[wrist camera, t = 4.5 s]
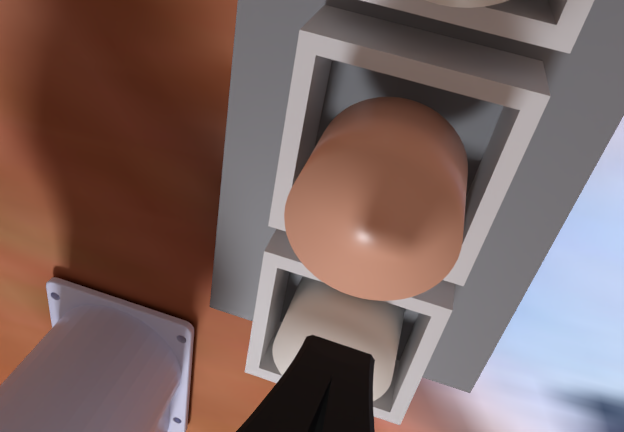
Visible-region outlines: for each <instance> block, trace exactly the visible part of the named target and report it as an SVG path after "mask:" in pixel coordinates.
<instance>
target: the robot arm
mask: <svg viewBox="0 0 624 432" xmlns="http://www.w3.org/2000/svg"><path fill="white" fill-rule="evenodd" d="M46 289H47V296H48V302H49V309H50V316H51V323H52V329H51V330H50V331H49V332H48V333H47V334H46V335H45V337H44V338H43V339H42V340H41V341H40V342H39V343H38V344H37V345H36V346H35V348H34V349H33V350H32V351H31V352H30V353H29V354H28V355H27V356H26V358H25V359H24V360H23V361H22V362H21V363H20V364H19V365H18V366H17V368H16V369H15V370H14V371H13V372H12V373H11V374H10V375H9V376H8V377H7V379H6V380H5V381H4V382H3V383H2V384H1V385H0V432H186V430H187V425H188V411H189V397H190V383H191V369H192V355H193V341H194V327H193V326H192V324H190V323H189V322H187V321H185V320H182V319H179V318H176V317H173V316H170V315H167V314H164V313H161V312H158V311H155V310H152V309H149V308H147V307H144V306H141V305H138V304H135V303H132V302H129V301H126V300H123V299H120V298H117V297H114V296H111V295H108V294H105V293H102V292H99V291H96V290H93V289H90V288H87V287H84V286H81V285H78V284H75V283H72V282H69V281H66V280H63V279H60V278H56V277H53V278H51V279H50V280H49V281H48V282H47V283H46ZM374 363H375V359H374V358H373V356H372V355H371V354H368V353H365V352H362V351H360V350H357V349H354V348H351V347H348V346H345V345H342V344H339V343H336V342H333V341H330V340H327V339H324V338H321V337H318V336H315V335H310V336H307V337H306V338H305V340H304V342H303V344H302V346H301V348H300V350H299V351H298V353H297V355H296V356H295V358H294V360H293V361H292V363H291V364H290V366H289V367H288V368H287V370H286V371H285V373H284V374H283V375H282V377H281V378H280V380H279V381H278V382H277V384H276V385H275V386H274V388H273V389H272V390H271V391H270V392H269V394H268V395H267V396H266V397H265V399H264V400H263V401H262V402H261V404H260V405H259V406H258V407H257V408H256V410H255V411H254V412H253V413H252V415H251V416H250V417H249V418H248V419H247V420H246V421H245V422H244V424H243V425H242V426H241V427H240V428H239V429H238V430H237V431H236V432H375V431H374V414H373V374H374Z"/></svg>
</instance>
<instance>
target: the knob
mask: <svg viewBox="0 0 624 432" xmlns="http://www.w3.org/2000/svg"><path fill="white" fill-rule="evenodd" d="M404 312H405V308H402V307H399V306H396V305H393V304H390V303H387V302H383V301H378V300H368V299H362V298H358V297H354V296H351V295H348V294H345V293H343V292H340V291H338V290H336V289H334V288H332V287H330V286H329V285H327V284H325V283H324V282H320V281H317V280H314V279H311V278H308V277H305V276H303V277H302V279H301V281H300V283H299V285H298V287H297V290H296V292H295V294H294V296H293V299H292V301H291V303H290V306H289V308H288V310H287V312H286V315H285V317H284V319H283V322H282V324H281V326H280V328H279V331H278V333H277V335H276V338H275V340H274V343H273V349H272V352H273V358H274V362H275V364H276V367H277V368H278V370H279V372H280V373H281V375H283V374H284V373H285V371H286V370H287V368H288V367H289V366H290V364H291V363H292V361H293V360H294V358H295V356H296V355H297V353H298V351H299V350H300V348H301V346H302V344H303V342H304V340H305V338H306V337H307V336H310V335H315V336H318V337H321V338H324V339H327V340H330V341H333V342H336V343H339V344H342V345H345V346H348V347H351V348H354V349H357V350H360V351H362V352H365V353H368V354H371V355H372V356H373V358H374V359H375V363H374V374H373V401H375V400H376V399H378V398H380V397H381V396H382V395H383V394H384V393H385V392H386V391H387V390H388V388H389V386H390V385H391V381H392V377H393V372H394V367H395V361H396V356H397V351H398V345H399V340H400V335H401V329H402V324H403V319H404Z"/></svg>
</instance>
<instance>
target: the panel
mask: <svg viewBox="0 0 624 432" xmlns="http://www.w3.org/2000/svg"><path fill="white" fill-rule="evenodd" d="M377 97H399V98H405V99H409V100H413V101H416V102H419V103H421V104H423V105H425V106H427V107H430V108H431V109H433V110H434V111H436V112H437V113H439V114H440V115H441V116H442V117H444V118H445V119H446V120H447V121H448V122H449V123H450V124H451V125H452V127H453V128H454V129H455V131H456V132H457V134H458V135H459V137H460V139H461V141H462V143H463V145H464V148H465V151H466V154H467V161H468V178H467V191H466V204H465V217H464V230H463V241H462V247H461V251H460V254H459V257H458V260H457V262H456V263H455V265H454V267H453V269H452V270H451V271H450V272H449V274H448V275H447V276H446V277H445V278H444V279H443V280H442V281H441V282H440V283H438V284H437V285H436V286H434V287H433V288H431V289H429V290H427V291H426V292H424V293H421V294H419V295H416V296H413V297H409V298H406V299H400V300H391V301H383V302H387V303H390V304H393V305H396V306H399V307H402V308H405V312H404V319H403V324H402V329H401V335H400V340H399V345H398V351H397V356H396V361H395V367H394V372H393V377H392V381H391V385H390V386H389V388H388V390H387V391H386V392H385V393H384V394H383V395H382V396H381V397H380V398H378V399H376V400H375V401H373V414H374V417H377V418H380V419H383V420H386V421H389V422H392V423H395V424H398V425H400V424H401V422H402V420H403V418H404V415H405V413H406V411H407V409H408V407H409V404H410V402H411V400H412V398H413V396H414V393H415V391H416V389H417V387H418V385H419V383H420V380H421V378H422V377H423V378H426V379H429V380H432V381H435V382H438V383H441V384H444V385H447V386H450V387H453V388H456V389H459V390H462V391H465V392H468V393H470V392H471V390H472V389H473V387H474V385H475V383H476V381H477V380H478V378H479V376H480V374H481V372H482V371H483V369H484V367H485V365H486V363H487V362H488V360H489V358H490V356H491V354H492V353H493V351H494V349H495V347H496V345H497V343H498V342H499V340H500V338H501V336H502V334H503V333H504V331H505V329H506V327H507V325H508V324H509V322H510V320H511V318H512V316H513V315H514V313H515V311H516V309H517V307H518V305H519V304H520V302H521V300H522V298H523V296H524V295H525V293H526V291H527V289H528V287H529V286H530V284H531V282H532V280H533V278H534V277H535V275H536V273H537V271H538V269H539V267H540V266H541V264H542V262H543V260H544V258H545V257H546V255H547V253H548V251H549V249H550V248H551V246H552V244H553V242H554V240H555V239H556V237H557V235H558V233H559V231H560V230H561V228H562V226H563V224H564V222H565V220H566V219H567V217H568V215H569V213H570V211H571V210H572V208H573V206H574V204H575V202H576V201H577V199H578V197H579V195H580V193H581V192H582V190H583V188H584V186H585V184H586V182H587V181H588V179H589V177H590V175H591V173H592V172H593V170H594V168H595V166H596V164H597V163H598V161H599V159H600V157H601V155H602V154H603V152H604V150H605V148H606V146H607V145H608V143H609V141H610V139H611V137H612V135H613V134H614V132H615V130H616V128H617V126H618V125H619V123H620V121H621V119H622V117H623V116H624V0H509V1H506V2H503V3H499V4H495V5H490V6H485V7H474V8H459V7H449V6H444V5H438V4H435V3H432V2H429V1H426V0H238V5H237V16H236V27H235V38H234V48H233V59H232V70H231V81H230V92H229V103H228V114H227V125H226V136H225V146H224V157H223V168H222V179H221V190H220V201H219V212H218V223H217V233H216V244H215V255H214V266H213V277H212V288H211V299H210V307H211V308H214V309H217V310H220V311H223V312H226V313H229V314H232V315H235V316H238V317H241V318H244V319H247V320H250V321H253V324H252V330H251V336H250V343H249V349H248V355H247V361H246V368H245V372H246V373H249V374H252V375H255V376H257V377H260V378H263V379H266V380H269V381H272V382H275V383H277V382H278V381H279V380H280V378H281V377H282V375H281V373H280V372H279V370H278V368H277V367H276V364H275V362H274V358H273V352H272V349H273V343H274V340H275V338H276V335H277V333H278V331H279V328H280V326H281V324H282V322H283V319H284V317H285V315H286V312H287V310H288V308H289V306H290V303H291V301H292V299H293V296H294V294H295V292H296V290H297V287H298V285H299V283H300V281H301V279H302V277H303V276H305V277H308V278H311V279H314V280H317V281H320V282H322V281H321V280H319V279H318V278H317V277H316V276H314V275H313V274H312V273H311V272H310V271H309V270H308V269H307V268H306V267H305V266H304V265H303V264H302V262H301V261H300V260H299V259H298V257H297V256H296V254H295V253H294V251H293V249H292V247H291V245H290V243H289V240H288V237H287V234H286V229H285V222H284V212H285V205H286V201H287V197H288V195H289V192H290V190H291V188H292V186H293V184H294V183H295V181H296V179H297V178H298V176H299V174H300V172H301V171H302V169H303V167H304V166H305V164H306V162H307V160H308V159H309V157H310V155H311V153H312V152H313V150H314V148H315V147H316V145H317V143H318V141H319V140H320V138H321V136H322V134H323V133H324V131H325V129H326V128H327V126H328V125H329V123H330V122H331V121H332V120H333V119H334V118H335V117H336V116H337V115H338V114H339V113H340V112H342V111H343V110H345V109H346V108H348V107H349V106H351V105H353V104H356V103H358V102H360V101H364V100H367V99H371V98H377Z"/></svg>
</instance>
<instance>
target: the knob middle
mask: <svg viewBox="0 0 624 432" xmlns="http://www.w3.org/2000/svg"><path fill="white" fill-rule="evenodd" d="M467 178H468V161H467V154H466V151H465V148H464V145H463V143H462V141H461V139H460V137H459V135H458V134H457V132H456V131H455V129H454V128H453V127H452V125H451V124H450V123H449V122H448V121H447V120H446V119H445V118H444V117H442V116H441V115H440V114H439V113H437V112H436V111H434V110H433V109H431V108H430V107H427V106H425V105H423V104H421V103H419V102H416V101H413V100H409V99H405V98H399V97H377V98H371V99H367V100H364V101H360V102H358V103H356V104H353V105H351V106H349V107H348V108H346V109H345V110H343V111H342V112H340V113H339V114H338V115H337V116H336V117H335V118H334V119H333V120H332V121H331V122H330V123H329V125H328V126H327V128H326V129H325V131H324V133H323V134H322V136H321V138H320V140H319V141H318V143H317V145H316V147H315V148H314V150H313V152H312V153H311V155H310V157H309V159H308V160H307V162H306V164H305V166H304V167H303V169H302V171H301V172H300V174H299V176H298V178H297V179H296V181H295V183H294V184H293V186H292V188H291V190H290V192H289V195H288V197H287V201H286V205H285V212H284V222H285V229H286V234H287V237H288V240H289V243H290V245H291V247H292V249H293V251H294V253H295V254H296V256H297V257H298V259H299V260H300V261H301V262H302V264H303V265H304V266H305V267H306V268H307V269H308V270H309V271H310V272H311V273H312V274H313V275H314V276H316V277H317V278H318V279H319V280H321V281H322V282H324V283H325V284H327V285H329V286H330V287H332V288H334V289H336V290H338V291H340V292H343V293H345V294H348V295H351V296H354V297H358V298H362V299H368V300H378V301H391V300H400V299H406V298H409V297H413V296H416V295H419V294H421V293H424V292H426V291H427V290H429V289H431V288H433V287H434V286H436V285H437V284H438V283H440V282H441V281H442V280H443V279H444V278H445V277H446V276H447V275H448V274H449V272H450V271H451V270H452V269H453V267H454V265H455V263H456V262H457V260H458V257H459V254H460V251H461V247H462V241H463V230H464V217H465V204H466V191H467Z"/></svg>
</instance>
